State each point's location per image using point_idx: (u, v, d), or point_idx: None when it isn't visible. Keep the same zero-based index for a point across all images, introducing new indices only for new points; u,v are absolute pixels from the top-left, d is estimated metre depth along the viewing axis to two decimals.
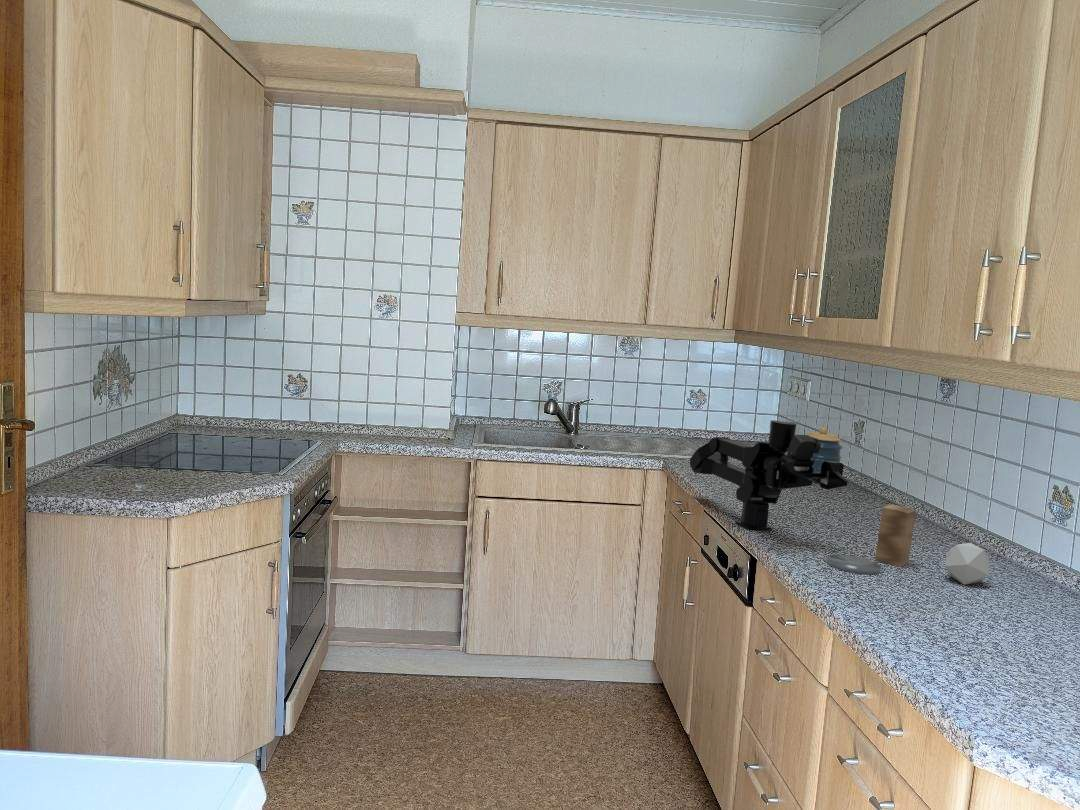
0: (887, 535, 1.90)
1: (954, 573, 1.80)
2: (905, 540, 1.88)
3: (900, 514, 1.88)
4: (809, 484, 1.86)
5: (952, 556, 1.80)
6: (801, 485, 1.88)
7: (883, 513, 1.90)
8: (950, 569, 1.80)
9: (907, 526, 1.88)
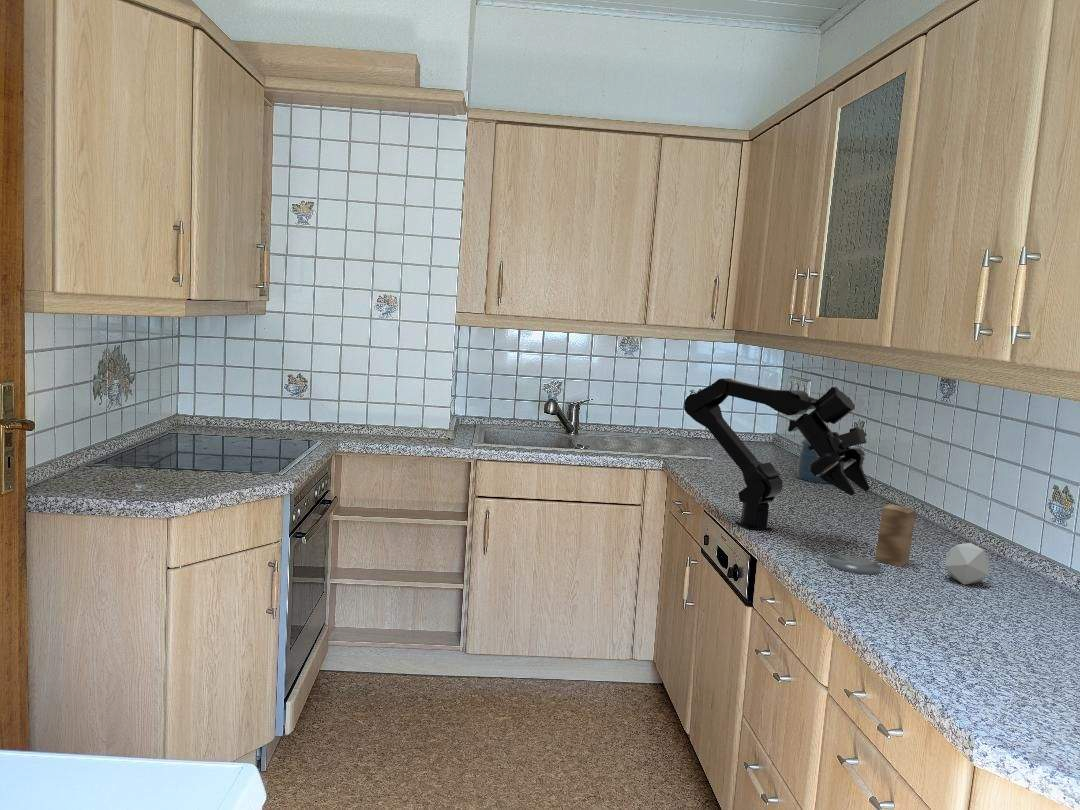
0: (887, 535, 1.90)
1: (954, 573, 1.80)
2: (905, 540, 1.88)
3: (900, 514, 1.88)
4: (850, 494, 1.92)
5: (952, 556, 1.80)
6: (841, 489, 1.93)
7: (883, 513, 1.90)
8: (950, 569, 1.80)
9: (907, 526, 1.88)
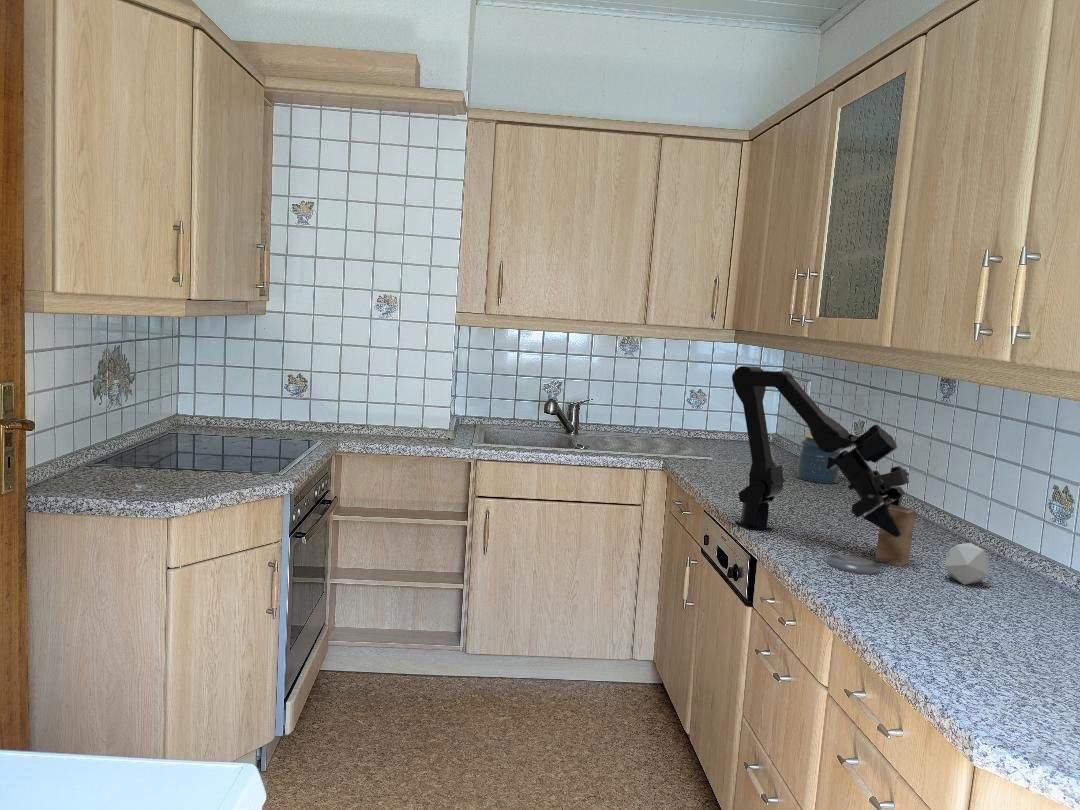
0: (887, 535, 1.90)
1: (954, 573, 1.80)
2: (905, 540, 1.88)
3: (900, 514, 1.88)
4: (895, 535, 1.88)
5: (952, 556, 1.80)
6: (885, 529, 1.89)
7: None
8: (950, 569, 1.80)
9: (907, 526, 1.88)
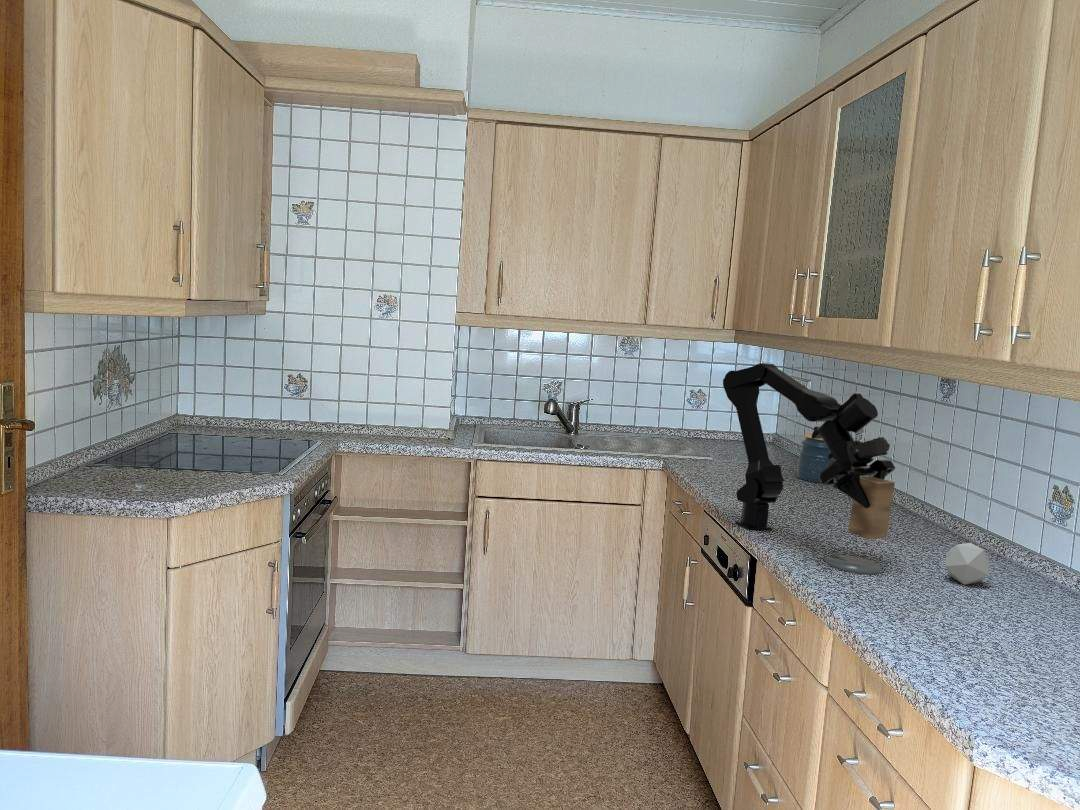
0: (859, 506, 1.84)
1: (954, 573, 1.80)
2: (876, 512, 1.82)
3: (871, 485, 1.82)
4: (865, 506, 1.82)
5: (952, 556, 1.80)
6: (856, 500, 1.84)
7: None
8: (950, 569, 1.80)
9: (878, 497, 1.81)
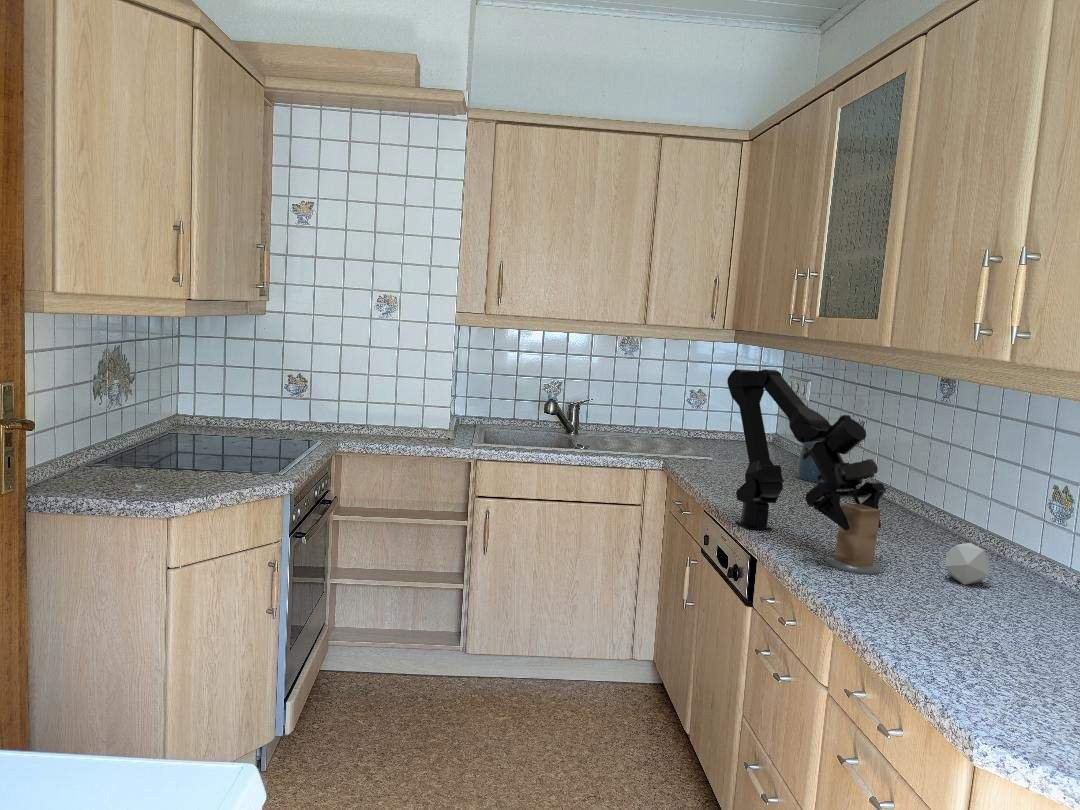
0: (844, 533, 1.84)
1: (954, 573, 1.80)
2: (860, 539, 1.81)
3: (855, 512, 1.82)
4: (845, 529, 1.81)
5: (952, 556, 1.80)
6: (836, 522, 1.83)
7: None
8: (950, 569, 1.80)
9: (862, 525, 1.81)
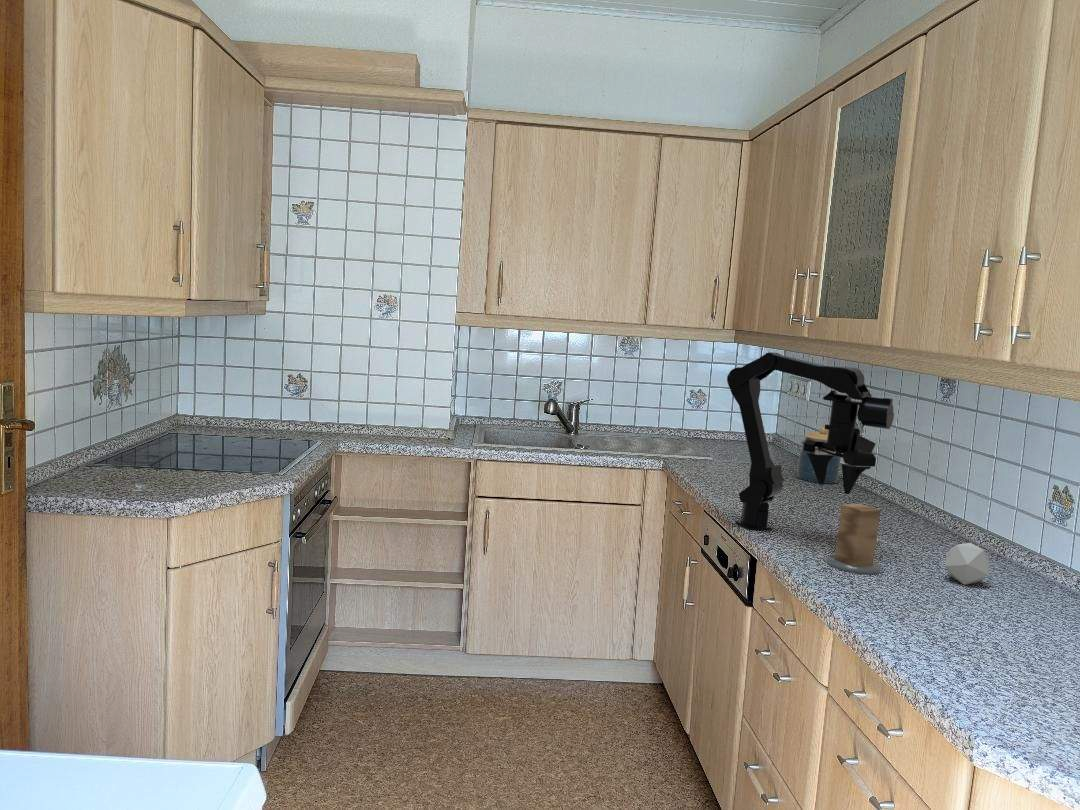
0: (844, 533, 1.84)
1: (954, 573, 1.80)
2: (860, 539, 1.81)
3: (855, 512, 1.82)
4: (846, 493, 1.96)
5: (952, 556, 1.80)
6: (846, 484, 1.95)
7: (842, 510, 1.85)
8: (950, 569, 1.80)
9: (862, 525, 1.81)
